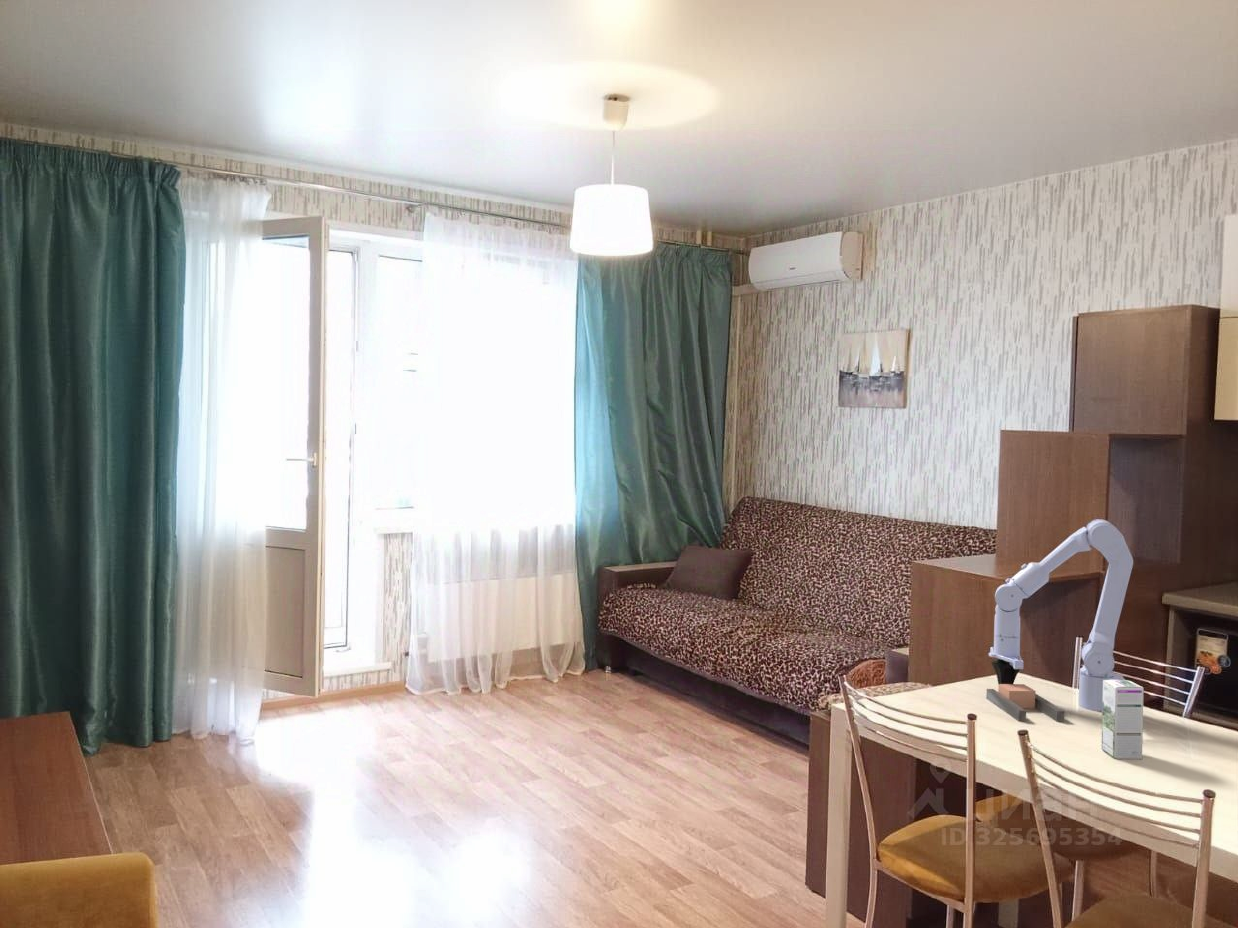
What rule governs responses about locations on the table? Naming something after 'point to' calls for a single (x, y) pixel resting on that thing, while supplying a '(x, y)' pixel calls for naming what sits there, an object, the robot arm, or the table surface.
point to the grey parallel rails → (1019, 712)
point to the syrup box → (1122, 719)
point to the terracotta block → (1018, 694)
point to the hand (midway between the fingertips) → (1005, 692)
